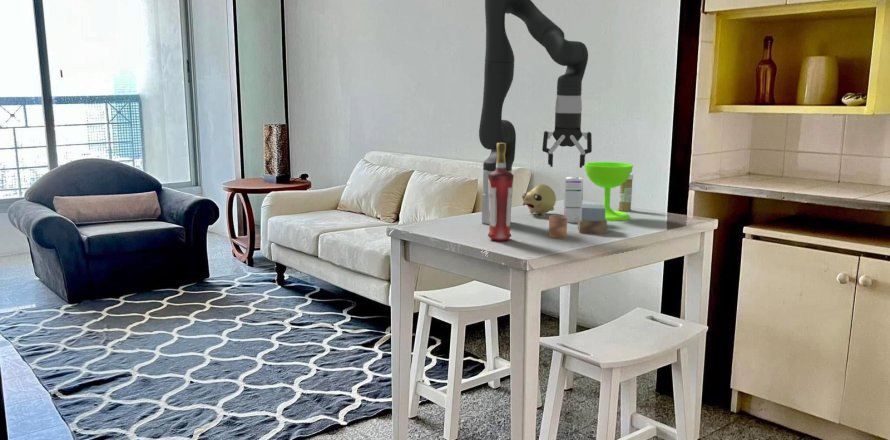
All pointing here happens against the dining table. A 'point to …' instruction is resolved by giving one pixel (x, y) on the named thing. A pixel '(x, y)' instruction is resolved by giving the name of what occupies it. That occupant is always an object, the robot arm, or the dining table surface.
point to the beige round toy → (540, 199)
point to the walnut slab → (592, 226)
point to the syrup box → (573, 198)
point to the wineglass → (609, 183)
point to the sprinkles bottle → (625, 195)
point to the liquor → (500, 198)
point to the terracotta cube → (557, 226)
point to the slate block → (592, 212)
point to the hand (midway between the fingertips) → (566, 167)
